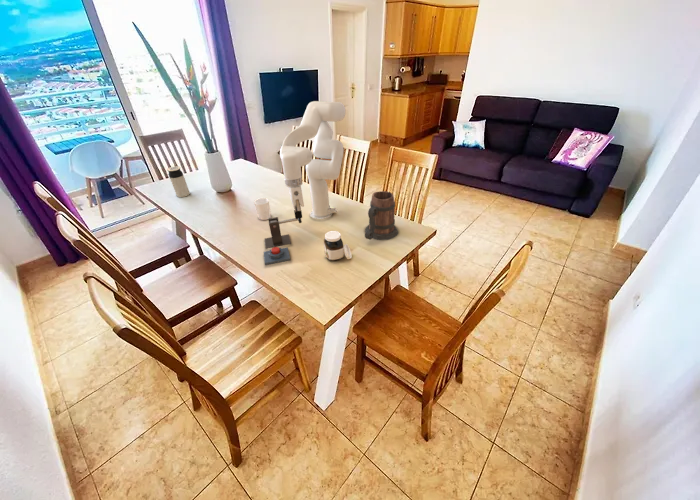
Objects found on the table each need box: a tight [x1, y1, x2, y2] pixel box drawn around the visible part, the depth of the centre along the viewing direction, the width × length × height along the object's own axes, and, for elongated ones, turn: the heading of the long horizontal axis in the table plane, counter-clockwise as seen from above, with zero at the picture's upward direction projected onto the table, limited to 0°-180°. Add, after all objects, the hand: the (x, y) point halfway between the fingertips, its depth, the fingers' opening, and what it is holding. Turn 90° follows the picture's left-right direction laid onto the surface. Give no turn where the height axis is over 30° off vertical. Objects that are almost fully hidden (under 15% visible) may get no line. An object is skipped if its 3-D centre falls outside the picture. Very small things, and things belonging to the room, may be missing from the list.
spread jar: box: [323, 230, 353, 262], centre depth 131 cm, size 12×11×12 cm
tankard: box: [364, 190, 399, 241], centre depth 144 cm, size 24×17×20 cm
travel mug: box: [166, 165, 191, 198], centre depth 190 cm, size 8×8×18 cm
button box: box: [263, 247, 291, 266], centre depth 133 cm, size 11×9×4 cm
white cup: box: [253, 197, 272, 221], centre depth 164 cm, size 8×8×10 cm
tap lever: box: [270, 217, 303, 225], centre depth 140 cm, size 14×6×2 cm, turn 106°
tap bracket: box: [264, 216, 292, 249], centre depth 141 cm, size 12×9×13 cm
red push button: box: [270, 246, 280, 254], centre depth 132 cm, size 4×4×2 cm
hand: (298, 217), depth 141 cm, fingers closed
